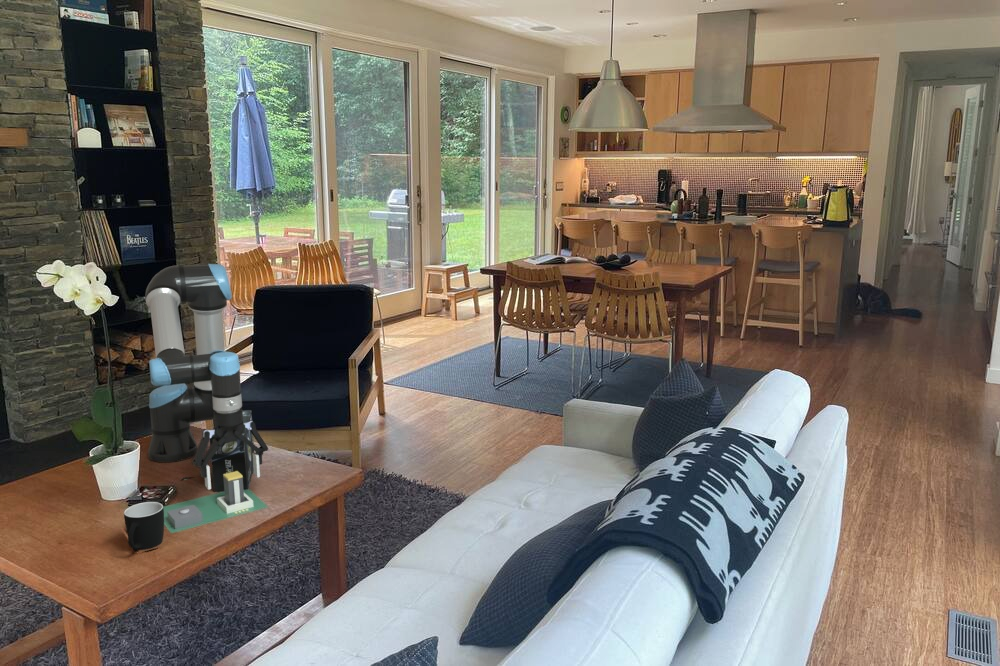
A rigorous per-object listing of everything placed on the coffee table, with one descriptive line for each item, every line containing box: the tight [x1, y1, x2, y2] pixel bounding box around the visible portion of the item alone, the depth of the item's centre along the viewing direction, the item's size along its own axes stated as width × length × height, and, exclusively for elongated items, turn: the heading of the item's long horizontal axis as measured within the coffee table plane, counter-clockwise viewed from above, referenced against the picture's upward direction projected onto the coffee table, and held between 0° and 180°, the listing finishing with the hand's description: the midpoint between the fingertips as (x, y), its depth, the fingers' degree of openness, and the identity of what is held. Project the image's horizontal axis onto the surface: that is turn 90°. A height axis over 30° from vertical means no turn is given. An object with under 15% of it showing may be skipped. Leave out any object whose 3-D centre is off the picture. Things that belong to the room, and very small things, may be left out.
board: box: [163, 488, 269, 534], centre depth 212 cm, size 18×26×4 cm
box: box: [209, 409, 255, 493], centre depth 233 cm, size 23×10×19 cm, turn 13°
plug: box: [223, 471, 244, 506], centre depth 213 cm, size 5×4×9 cm
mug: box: [123, 501, 165, 553], centre depth 190 cm, size 12×9×10 cm
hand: (233, 481), depth 213 cm, fingers open, 13 cm apart
